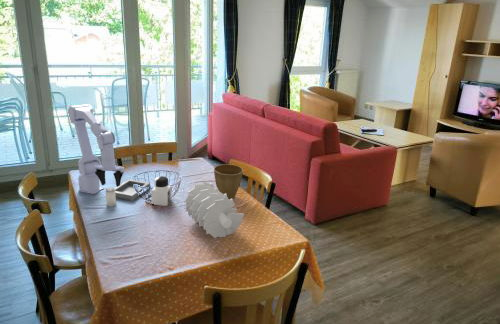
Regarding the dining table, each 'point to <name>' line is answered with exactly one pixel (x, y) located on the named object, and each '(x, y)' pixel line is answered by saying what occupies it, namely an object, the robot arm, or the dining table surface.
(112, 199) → the shaker
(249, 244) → the dining table surface
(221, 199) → the spiral staircase
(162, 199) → the container
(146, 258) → the dining table surface
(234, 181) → the plant pot
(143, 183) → the tray
